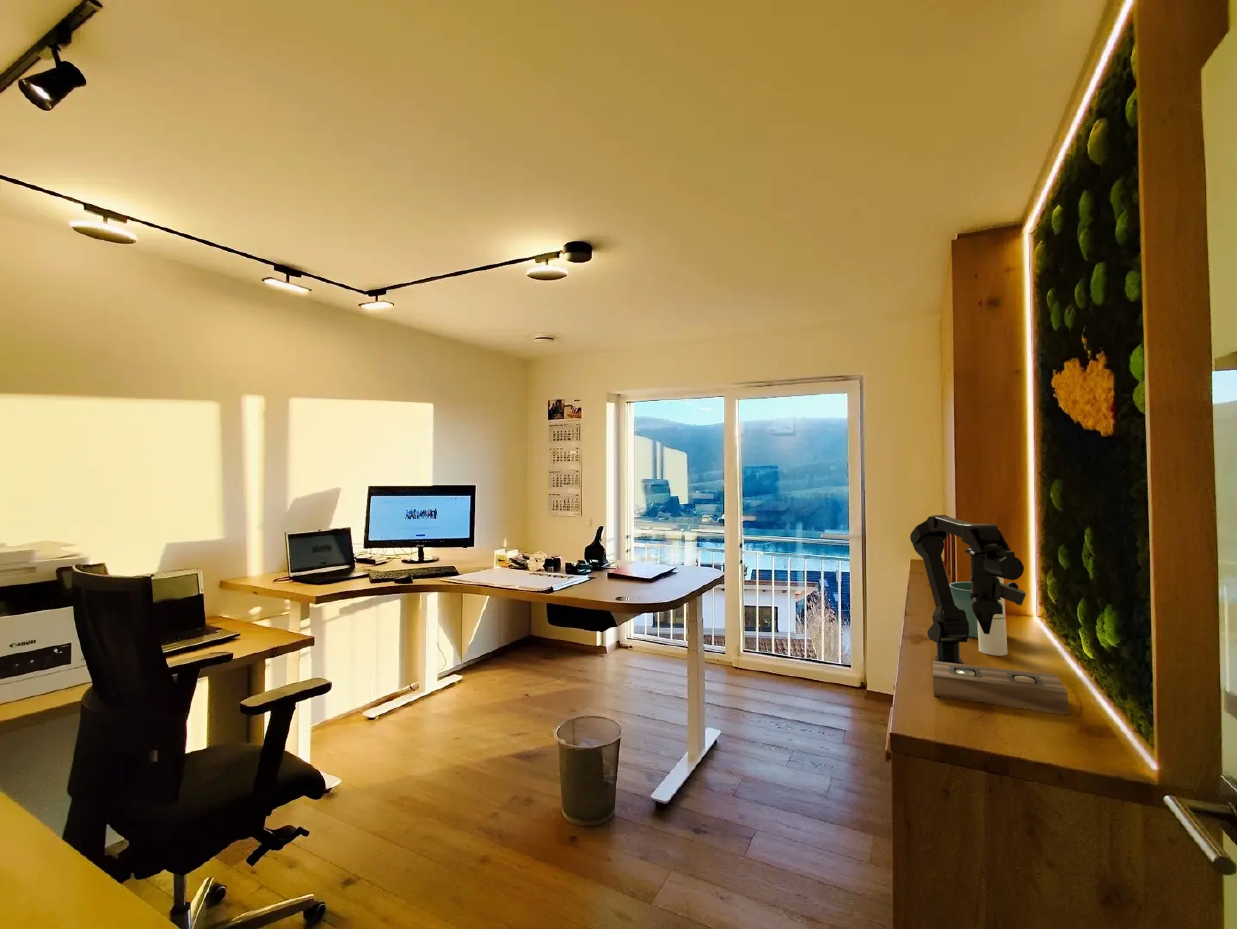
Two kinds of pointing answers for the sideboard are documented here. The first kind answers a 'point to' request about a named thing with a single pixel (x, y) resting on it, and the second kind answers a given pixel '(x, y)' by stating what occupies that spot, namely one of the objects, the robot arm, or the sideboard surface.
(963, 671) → the metal peg
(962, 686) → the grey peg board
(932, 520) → the robot arm
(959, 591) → the flower pot
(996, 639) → the cylindrical container
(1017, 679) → the beech peg
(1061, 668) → the sideboard surface
